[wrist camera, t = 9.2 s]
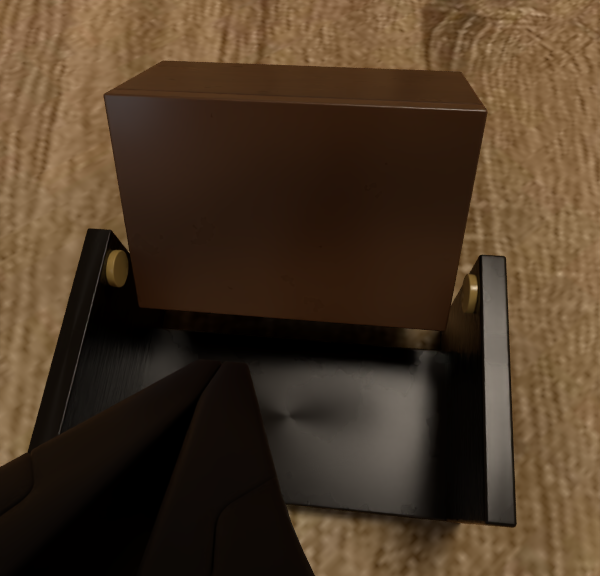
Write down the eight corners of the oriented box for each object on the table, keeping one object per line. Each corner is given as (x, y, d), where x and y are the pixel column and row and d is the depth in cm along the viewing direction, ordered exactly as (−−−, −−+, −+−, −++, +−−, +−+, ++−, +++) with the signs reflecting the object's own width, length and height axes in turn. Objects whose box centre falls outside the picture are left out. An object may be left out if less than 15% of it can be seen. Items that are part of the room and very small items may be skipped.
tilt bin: (488, 110, 14) (462, 71, 18) (102, 93, 15) (161, 60, 19) (445, 332, 18) (432, 257, 22) (138, 308, 19) (181, 240, 23)
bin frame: (462, 523, 20) (517, 528, 14) (109, 485, 21) (20, 474, 15) (460, 322, 23) (506, 255, 17) (148, 299, 24) (87, 227, 18)
